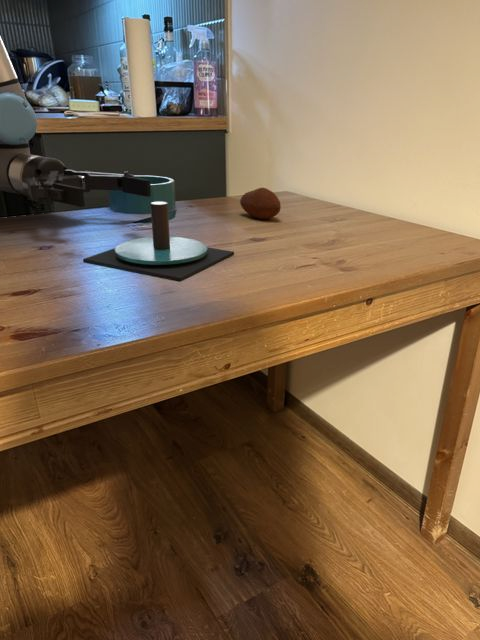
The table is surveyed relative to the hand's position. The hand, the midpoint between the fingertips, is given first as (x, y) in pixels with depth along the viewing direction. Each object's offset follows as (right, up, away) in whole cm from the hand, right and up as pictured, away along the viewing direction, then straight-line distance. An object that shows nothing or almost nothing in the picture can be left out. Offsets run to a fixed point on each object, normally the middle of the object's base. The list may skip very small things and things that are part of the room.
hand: (117, 192), depth 81 cm
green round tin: (-2, +4, +27) cm, 28 cm away
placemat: (+7, -11, 0) cm, 13 cm away
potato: (+23, +4, +30) cm, 38 cm away
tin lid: (+7, -10, -1) cm, 12 cm away
